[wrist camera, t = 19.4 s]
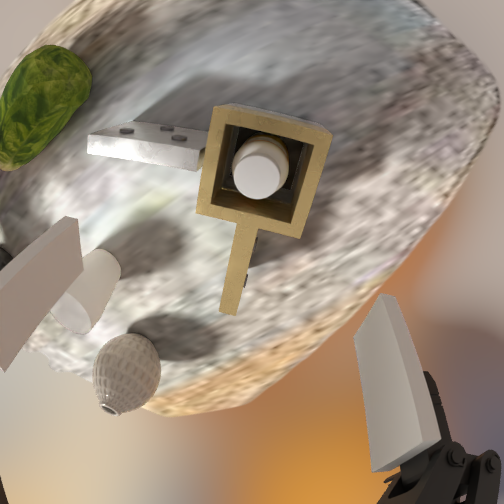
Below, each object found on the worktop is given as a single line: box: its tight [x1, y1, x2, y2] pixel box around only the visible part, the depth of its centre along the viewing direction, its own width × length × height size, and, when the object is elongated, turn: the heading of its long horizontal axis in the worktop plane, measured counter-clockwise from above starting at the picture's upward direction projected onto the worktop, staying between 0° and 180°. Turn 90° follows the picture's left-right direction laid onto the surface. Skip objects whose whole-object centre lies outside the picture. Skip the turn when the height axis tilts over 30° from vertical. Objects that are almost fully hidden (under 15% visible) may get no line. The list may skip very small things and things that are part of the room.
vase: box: [92, 333, 161, 416], centre depth 47 cm, size 13×13×17 cm
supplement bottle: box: [232, 132, 289, 199], centre depth 28 cm, size 5×5×10 cm
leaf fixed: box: [87, 103, 324, 205], centre depth 28 cm, size 22×10×10 cm, turn 78°
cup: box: [50, 249, 121, 334], centre depth 39 cm, size 9×9×12 cm
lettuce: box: [0, 45, 92, 171], centre depth 26 cm, size 12×21×11 cm, turn 124°
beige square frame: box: [196, 104, 333, 316], centre depth 31 cm, size 10×22×10 cm, turn 168°
